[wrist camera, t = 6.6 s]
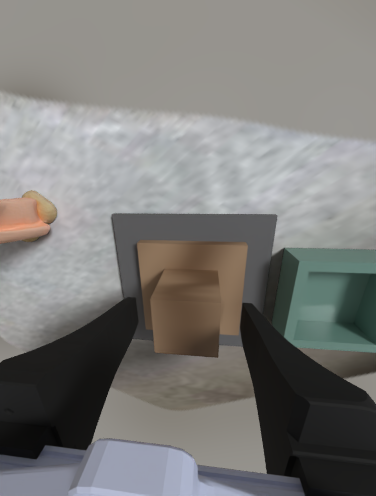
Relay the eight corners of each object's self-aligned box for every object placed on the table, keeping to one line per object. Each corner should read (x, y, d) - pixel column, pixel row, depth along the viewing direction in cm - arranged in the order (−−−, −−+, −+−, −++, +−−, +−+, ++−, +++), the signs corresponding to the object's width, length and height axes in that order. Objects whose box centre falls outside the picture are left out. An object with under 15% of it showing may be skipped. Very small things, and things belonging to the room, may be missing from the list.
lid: (245, 242, 14) (263, 271, 10) (237, 328, 17) (248, 383, 12) (140, 239, 15) (111, 266, 10) (148, 322, 17) (128, 372, 13)
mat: (275, 214, 14) (277, 215, 13) (256, 344, 18) (257, 347, 17) (114, 213, 15) (111, 214, 14) (131, 335, 19) (129, 338, 18)
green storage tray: (385, 250, 14) (422, 264, 11) (357, 327, 16) (383, 353, 14) (284, 247, 14) (299, 261, 12) (271, 322, 17) (282, 346, 14)
